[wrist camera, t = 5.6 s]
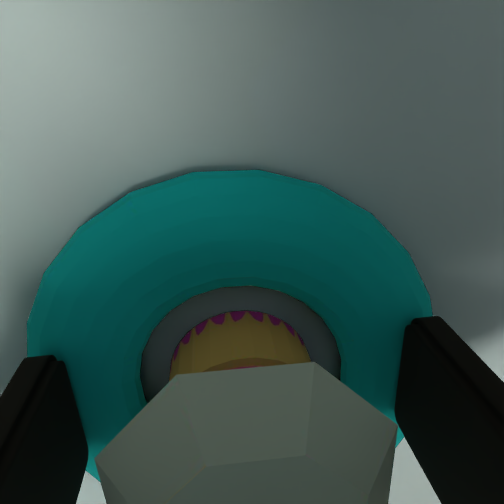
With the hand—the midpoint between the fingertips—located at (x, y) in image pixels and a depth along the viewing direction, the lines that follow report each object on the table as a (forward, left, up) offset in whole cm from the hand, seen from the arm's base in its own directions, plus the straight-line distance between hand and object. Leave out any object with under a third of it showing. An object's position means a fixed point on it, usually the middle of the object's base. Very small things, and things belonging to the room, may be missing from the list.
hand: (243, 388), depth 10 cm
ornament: (-4, +3, +1) cm, 5 cm away
